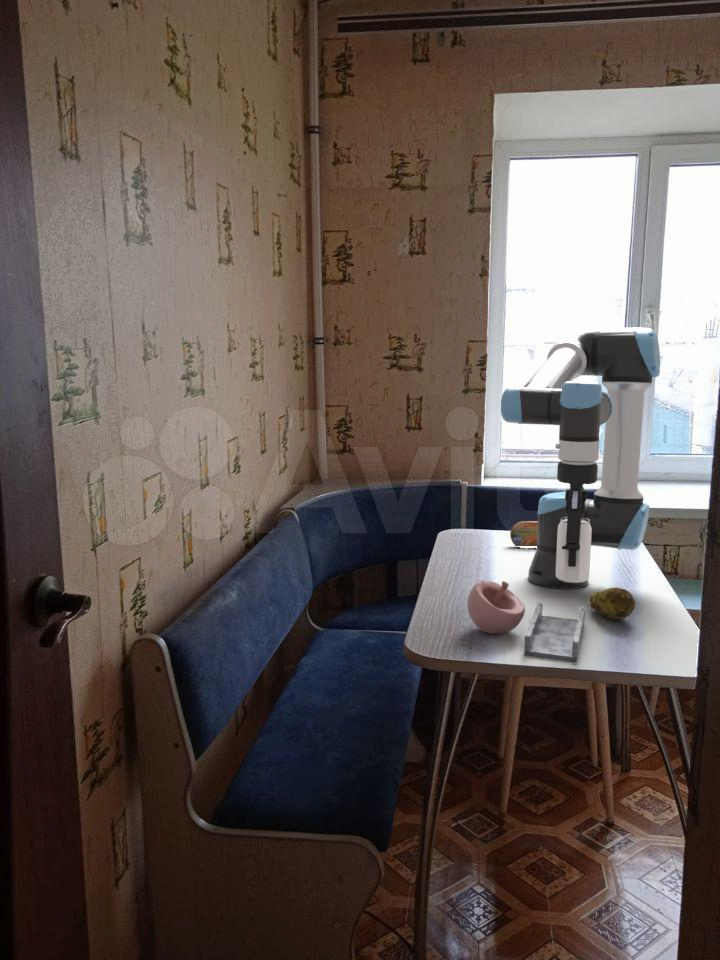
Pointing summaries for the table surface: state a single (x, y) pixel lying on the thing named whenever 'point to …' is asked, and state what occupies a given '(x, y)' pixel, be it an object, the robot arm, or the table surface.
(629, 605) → the potato
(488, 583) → the mortar and pestle
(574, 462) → the robot arm
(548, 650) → the track
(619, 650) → the table surface
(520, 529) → the tin
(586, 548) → the can
